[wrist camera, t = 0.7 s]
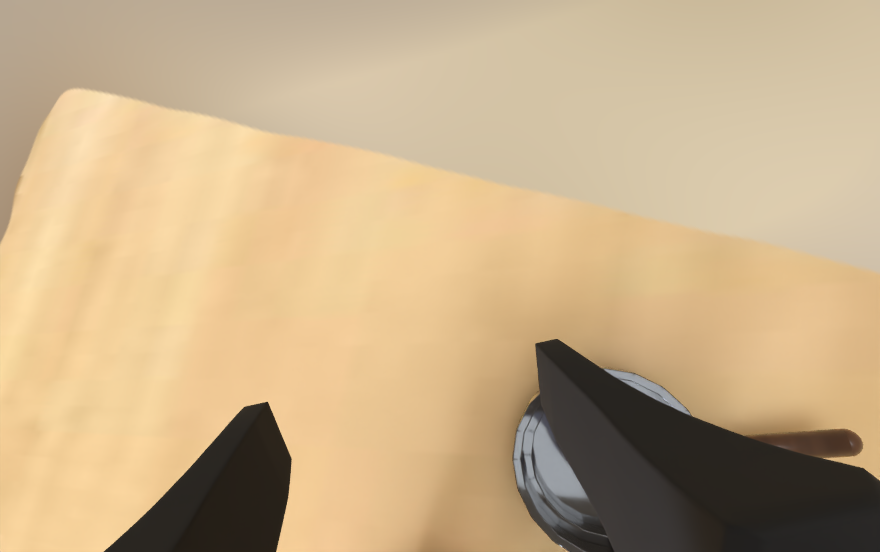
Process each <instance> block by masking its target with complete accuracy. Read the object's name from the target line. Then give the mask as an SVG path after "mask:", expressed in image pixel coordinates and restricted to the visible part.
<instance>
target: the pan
mask: <svg viewBox="0 0 880 552" xmlns="http://www.w3.org/2000/svg"><path fill="white" fill-rule="evenodd" d="M599 367H600V368H602V369H603V370H605V371H606V372H608V373H610V374H611V375H613V376H614V377H616V378H618V379H619V380H621V381H623V382H625V383H626V384H628V385H630V386H632V387H633V388H635V389H637V390H639V391H641V392H643V393H644V394H646V395H648V396H650V397H652V398H654V399H656V400H658V401H660V402H662V403H664V404H666V405H668V406H671V407H673V408H675V409H677V410H679V411H681V412H684V413H686V414H688V415H690V416H692V415H691V414H690V412H689V411H688V410H687V408H686V407H684V406H683V405H682V404H681V403H680V402H679V401H678V400H677V399H676V398H675V397H674V396H672V395H671V394H670V393H669V392H668V391H667V390H666V389H665V388H663V387H662V386H660V385H658V384H656V383H654V382H652V381H650V380H648V379H646V378H644V377H641V376H639V375H637V374H635V373H632V372H628V371H625V370H619V369H613V368H607V367H601V366H599ZM513 465H514V471H515V477H516V483H517V488H518V491H519V493H520V495H521V497H522V499H523V501H524V503H525V505H526V507H527V509H528V511H529V513H530V516H531V517H532V519H533V520H534V521H535V522H536V523H537V524H538V525H539V526H540V528H541V529H542V530H543V531H544V532H545V533H546V534H547V535H548V536H549V538H550V539H551V540H552V541H554V542H555V543H556V544H558V545H559V546H561V547H563V548H564V549H566V550H567V551H569V552H614V550H613V547H612V545H611V543H610V541H609V538H608V536H607V534H606V531H605V529H604V527H603V525H602V523H601V521H600V519H599V517H598V515H597V513H596V511H595V509H594V507H593V506H592V504H591V502H590V500H589V498H588V497H587V495H586V493H585V491H584V490H583V488H582V486H581V484H580V482H579V481H578V479H577V477H576V475H575V473H574V472H573V470H572V468H571V466H570V464H569V463H568V461H567V459H566V457H565V455H564V453H563V452H562V450H561V448H560V446H559V444H558V442H557V441H556V439H555V437H554V435H553V432H552V430H551V427H550V425H549V423H548V420H547V418H546V415H545V412H544V410H543V407H542V405H541V399H540V390H539V391H538V392H537V393H536V394H535V395H534V396H533V397H532V398H531V400H530V401H529V403H528V405H527V407H526V409H525V411H524V413H523V415H522V417H521V419H520V421H519V424H518V427H517V430H516V436H515V443H514V451H513Z"/></svg>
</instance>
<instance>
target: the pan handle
mask: <svg viewBox="0 0 880 552" xmlns="http://www.w3.org/2000/svg"><path fill="white" fill-rule="evenodd" d="M746 437H749V438H752V439H755V440H758V441H761V442H764V443H768V444H771V445H774V446H778V447H781V448H784V449H788V450H791V451H795V452H798V453H802V454H806V455H810V456H814V457H818V458H831V457H850V456H855V455H858V454H859V453H860V452H861V451H862V449H863V442H862V440H861V438H860V437H859V436H858V435H857V434H856V433H854V432H852V431H850V430H847V429H831V430H817V431H803V432H789V433H775V434H761V435H746Z"/></svg>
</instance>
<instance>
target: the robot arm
mask: <svg viewBox="0 0 880 552" xmlns="http://www.w3.org/2000/svg"><path fill="white" fill-rule="evenodd" d="M535 346H536V357H537V368H538V378H539V389H540V399H541V405H542V407H543V410H544V412H545V415H546V418H547V420H548V423H549V425H550V427H551V430H552V432H553V435H554V437H555V439H556V441H557V442H558V444H559V446H560V448H561V450H562V452H563V453H564V455H565V457H566V459H567V461H568V463H569V464H570V466H571V468H572V470H573V472H574V473H575V475H576V477H577V479H578V481H579V482H580V484H581V486H582V488H583V490H584V491H585V493H586V495H587V497H588V498H589V500H590V502H591V504H592V506H593V507H594V509H595V511H596V513H597V515H598V517H599V519H600V521H601V523H602V525H603V527H604V529H605V531H606V534H607V536H608V538H609V541H610V543H611V545H612V547H613V550H614V552H880V481H879V480H878V479H877V478H875V477H874V476H873V475H872V474H870V473H869V472H867V471H866V470H865V469H864V468H860V467H856V466H852V465H847V464H843V463H839V462H835V461H831V460H827V459H823V458H818V457H814V456H810V455H806V454H802V453H798V452H795V451H791V450H788V449H784V448H781V447H778V446H774V445H771V444H768V443H764V442H761V441H758V440H755V439H752V438H749V437H746V436H743V435H740V434H737V433H734V432H731V431H729V430H726V429H723V428H721V427H718V426H715V425H713V424H710V423H707V422H705V421H702V420H700V419H698V418H695V417H693V416H690V415H688V414H686V413H684V412H681V411H679V410H677V409H675V408H673V407H671V406H668V405H666V404H664V403H662V402H660V401H658V400H656V399H654V398H652V397H650V396H648V395H646V394H644V393H643V392H641V391H639V390H637V389H635V388H633V387H632V386H630V385H628V384H626V383H625V382H623V381H621V380H619V379H618V378H616V377H614V376H613V375H611V374H610V373H608V372H606V371H605V370H603V369H602V368H600V367H598V366H597V365H595V364H594V363H592V362H591V361H589V360H588V359H586V358H585V357H583V356H582V355H580V354H579V353H578V352H576V351H575V350H573V349H572V348H570V347H569V346H567V345H566V344H564V343H563V342H561V341H560V340H558V339H554V340H550V341H545V342H540V343H536V344H535ZM291 460H292V459H291V457H290V454H289V452H288V449H287V447H286V445H285V442H284V440H283V437H282V435H281V433H280V430H279V428H278V425H277V423H276V421H275V418H274V416H273V413H272V411H271V409H270V406H269V404H268V402H265V403H260V404H256V405H251V406H246V407H244V408H243V409H242V410H241V411H240V412H239V413H238V414H237V415H236V416H235V417H234V419H233V420H232V421H231V422H230V423H229V424H228V425H227V426H226V428H225V429H224V430H223V431H222V432H221V433H220V434H219V436H218V437H217V438H216V439H215V440H214V441H213V442H212V444H211V445H210V446H209V447H208V448H207V449H206V450H205V451H204V453H203V454H202V455H201V456H200V457H199V458H198V459H197V460H196V462H195V463H194V464H193V465H192V466H191V467H190V468H189V469H188V470H187V472H186V473H185V474H184V475H183V476H182V477H181V478H180V479H179V480H178V481H177V482H176V483H175V484H174V485H173V486H172V487H171V488H170V489H169V490H168V491H167V492H166V493H165V495H164V496H163V497H162V498H161V499H160V500H159V501H158V502H157V503H156V504H155V505H154V506H153V507H152V508H151V509H150V510H149V511H148V512H147V513H146V514H145V515H144V516H143V517H142V518H140V519H139V520H138V521H137V522H136V523H135V524H134V525H133V526H132V527H131V528H130V529H129V530H128V531H126V532H125V533H124V534H123V535H122V536H121V537H120V538H119V539H118V540H117V541H115V542H114V543H113V544H112V545H111V546H110V547H109V548H107V549H106V550H105V551H104V552H276V550H277V545H278V541H279V536H280V532H281V528H282V523H283V519H284V514H285V510H286V505H287V500H288V494H289V484H290V473H291Z"/></svg>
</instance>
